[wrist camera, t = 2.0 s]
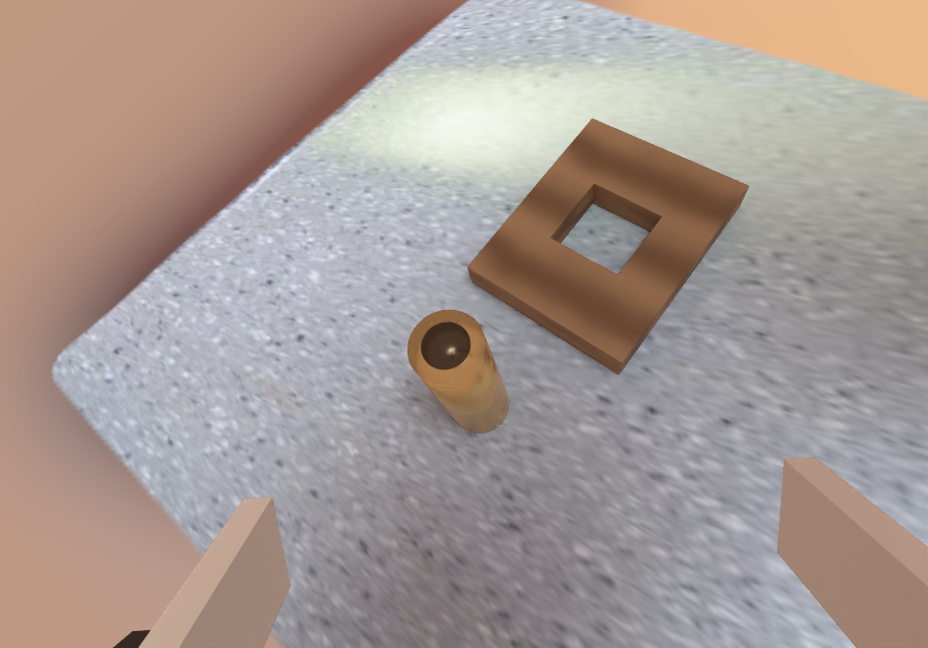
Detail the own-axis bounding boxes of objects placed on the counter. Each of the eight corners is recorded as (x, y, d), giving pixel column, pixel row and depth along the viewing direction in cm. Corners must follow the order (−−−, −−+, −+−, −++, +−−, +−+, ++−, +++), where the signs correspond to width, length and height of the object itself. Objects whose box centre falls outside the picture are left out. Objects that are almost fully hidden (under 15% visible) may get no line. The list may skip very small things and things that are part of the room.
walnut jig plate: (591, 139, 55) (592, 118, 53) (739, 206, 49) (749, 185, 46) (472, 282, 51) (467, 266, 48) (618, 374, 45) (621, 362, 42)
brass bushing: (475, 366, 48) (440, 295, 35) (520, 398, 46) (500, 335, 33) (440, 410, 47) (391, 354, 34) (484, 445, 45) (450, 399, 32)
